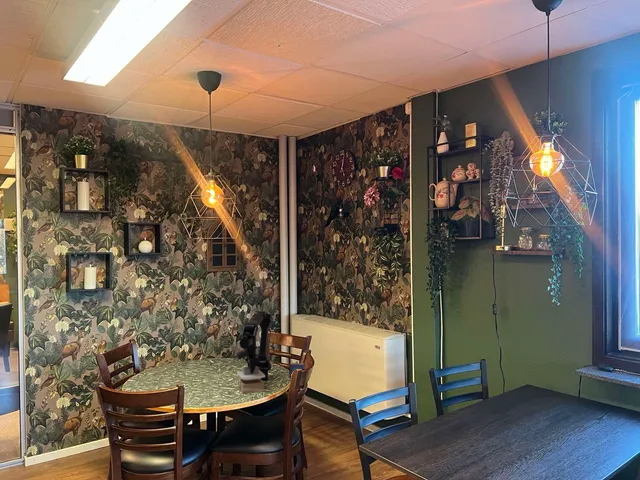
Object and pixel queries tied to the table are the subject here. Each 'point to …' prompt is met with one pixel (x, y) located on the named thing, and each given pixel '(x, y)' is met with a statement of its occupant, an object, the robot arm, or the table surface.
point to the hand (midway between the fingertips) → (251, 372)
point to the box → (250, 385)
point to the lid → (248, 376)
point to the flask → (295, 367)
